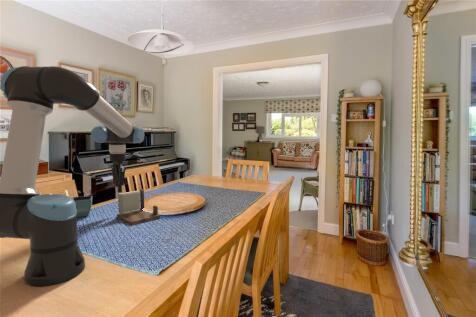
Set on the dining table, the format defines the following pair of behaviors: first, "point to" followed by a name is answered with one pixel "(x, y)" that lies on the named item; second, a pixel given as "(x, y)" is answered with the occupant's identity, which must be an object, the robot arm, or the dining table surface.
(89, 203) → the flower pot
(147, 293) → the dining table surface
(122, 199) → the gate
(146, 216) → the board
